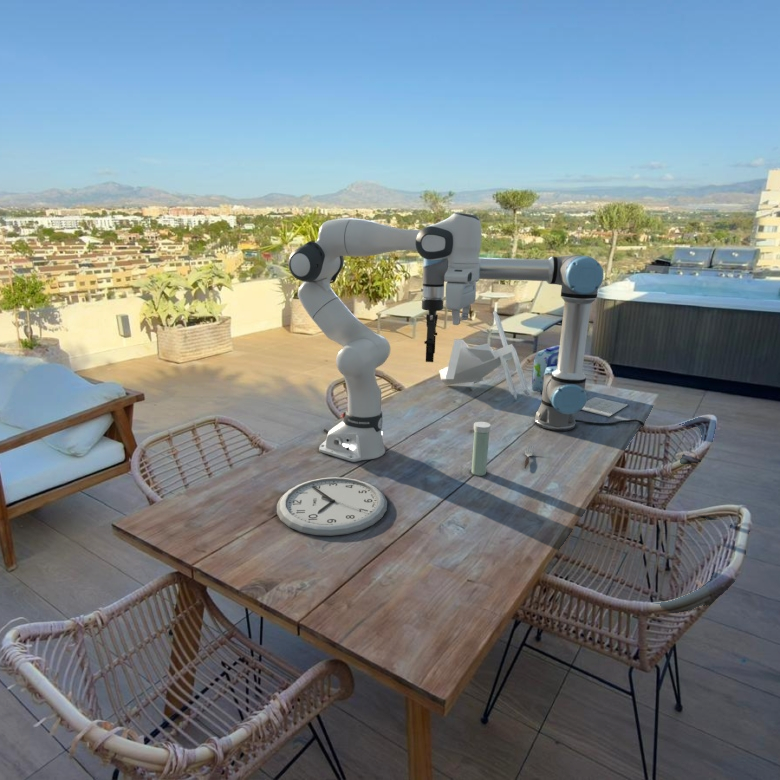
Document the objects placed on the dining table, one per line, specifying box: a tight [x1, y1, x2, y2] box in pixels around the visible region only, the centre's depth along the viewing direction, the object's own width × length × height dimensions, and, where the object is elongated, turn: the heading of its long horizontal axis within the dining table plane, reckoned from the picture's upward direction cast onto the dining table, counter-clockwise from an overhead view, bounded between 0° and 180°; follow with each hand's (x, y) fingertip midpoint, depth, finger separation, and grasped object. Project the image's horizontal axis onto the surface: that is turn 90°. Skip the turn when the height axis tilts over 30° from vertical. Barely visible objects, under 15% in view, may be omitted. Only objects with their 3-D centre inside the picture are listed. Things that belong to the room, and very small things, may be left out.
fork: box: [524, 445, 535, 469], centre depth 172 cm, size 3×16×2 cm, turn 160°
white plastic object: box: [438, 310, 531, 400], centre depth 245 cm, size 37×45×31 cm
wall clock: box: [276, 476, 388, 537], centre depth 142 cm, size 30×2×30 cm
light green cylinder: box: [470, 430, 490, 477], centre depth 161 cm, size 4×4×16 cm
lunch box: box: [531, 344, 560, 393], centre depth 245 cm, size 26×11×21 cm, turn 134°
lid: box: [473, 421, 491, 433], centre depth 159 cm, size 5×5×2 cm
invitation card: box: [580, 396, 629, 418], centre depth 226 cm, size 21×1×15 cm
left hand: (460, 322), depth 152 cm, fingers open, 8 cm apart
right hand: (430, 357), depth 190 cm, fingers open, 13 cm apart
